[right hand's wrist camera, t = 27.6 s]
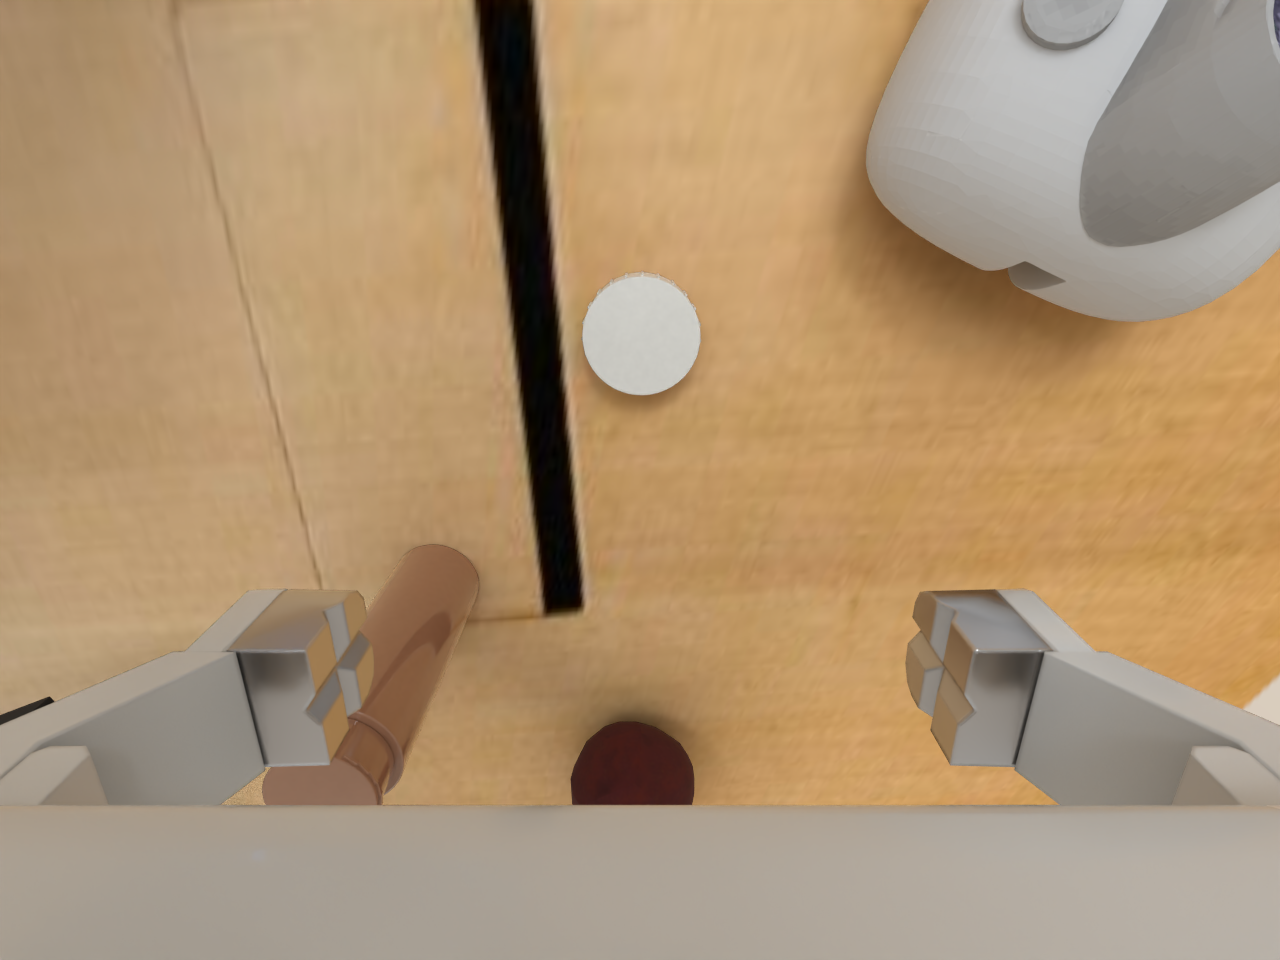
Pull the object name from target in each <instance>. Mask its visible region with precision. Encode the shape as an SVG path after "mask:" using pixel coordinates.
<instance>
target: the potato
mask: <svg viewBox="0 0 1280 960" xmlns="http://www.w3.org/2000/svg"><path fill="white" fill-rule="evenodd" d="M571 791H572V805H692V802H693V797H694V773H693V766H692V764H691V761H690V759H689V757H688V755H687V753H686V752H685V750H684V749H683V747H682V746H681V744H680V743H679V742H678V741H676V740H675V739H673V738H672V737H670V736H669V735H667V734H666V733H664V732H662V731H661V730H659V729H658V728H656V727H653V726H649V725H646V724H642V723H639V722H617V723H614V724H611V725H608V726H605V727H603V728H602V729H601V730H600V731H598V732H597V733H596V734H595V735H594V736H592V737H591V738H590V739H589V740H588V741H587V742H586V744H585V746H584V748H583V750H582V751H581V753H580V755H579V757H578V760H577V762H576V764H575V766H574V769H573V773H572V776H571Z"/></svg>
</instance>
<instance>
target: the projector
mask: <svg viewBox="0 0 1280 960" xmlns="http://www.w3.org/2000/svg"><path fill="white" fill-rule="evenodd" d="M866 168H867V174H868V178H869V181H870V183H871V185H872V187H873V189H874V191H875V193H876V195H877V197H878V198H879V200H880V201H881V202H882V204H883V205H884V206H885V207H886V208H887V209H888V210H889V211H890V212H891V213H892V214H893V215H894V216H895V217H896V218H897V219H899V220H900V221H901V222H902V223H903V224H904V225H906V226H907V227H909V228H910V229H911V230H913V231H914V232H915V233H917V234H918V235H919V236H921V237H923V238H924V239H926V240H928V241H929V242H931V243H932V244H934V245H936V246H937V247H939V248H941V249H943V250H944V251H946V252H948V253H950V254H952V255H954V256H955V257H957V258H959V259H961V260H963V261H965V262H967V263H969V264H971V265H973V266H975V267H977V268H979V269H981V270H986V271H994V270H1001V269H1005V268H1008V274H1009V278H1010V280H1011V282H1012V283H1013V284H1014V285H1015V286H1016V287H1018V288H1020V289H1022V290H1024V291H1026V292H1028V293H1031V294H1033V295H1035V296H1037V297H1039V298H1042V299H1044V300H1046V301H1049V302H1051V303H1053V304H1056V305H1058V306H1061V307H1063V308H1066V309H1069V310H1072V311H1075V312H1078V313H1081V314H1085V315H1088V316H1093V317H1097V318H1102V319H1107V320H1114V321H1131V322H1141V321H1151V320H1158V319H1164V318H1169V317H1173V316H1177V315H1180V314H1183V313H1186V312H1190V311H1192V310H1194V309H1197V308H1199V307H1201V306H1203V305H1206V304H1208V303H1210V302H1212V301H1214V300H1215V299H1217V298H1219V297H1220V296H1222V295H1224V294H1225V293H1227V292H1229V291H1230V290H1232V289H1234V288H1235V287H1236V286H1237V285H1239V284H1240V283H1241V282H1243V281H1244V280H1245V279H1246V278H1248V277H1249V276H1250V275H1252V274H1253V273H1254V272H1255V271H1257V270H1258V269H1259V268H1260V267H1261V266H1262V265H1263V264H1264V263H1265V262H1266V261H1267V260H1268V259H1269V258H1270V257H1271V256H1272V255H1273V254H1274V253H1275V252H1276V251H1277V250H1278V249H1279V248H1280V0H929V2H928V4H927V6H926V7H925V9H924V11H923V13H922V15H921V17H920V19H919V20H918V22H917V24H916V26H915V28H914V30H913V32H912V34H911V36H910V38H909V40H908V42H907V44H906V46H905V48H904V50H903V52H902V54H901V56H900V58H899V61H898V63H897V65H896V67H895V69H894V72H893V74H892V76H891V78H890V80H889V83H888V85H887V87H886V89H885V92H884V94H883V97H882V99H881V102H880V104H879V107H878V110H877V112H876V115H875V118H874V121H873V124H872V128H871V131H870V134H869V139H868V144H867V149H866Z"/></svg>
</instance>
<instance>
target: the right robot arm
mask: <svg viewBox="0 0 1280 960" xmlns="http://www.w3.org/2000/svg"><path fill="white" fill-rule="evenodd" d="M366 619H367V612H366V607H365V603H364V598H363V596H362V595H361V594H360V593H359V592H358V591H353V590H301V589H291V590H288V589H256V590H250V591H247V592H246V593H245V594H244V595H243V596H242V597H241V598H240V599H239V600H238V601H237V602H236V603H235V604H234V605H233V606H231V607H230V608H229V609H228V610H227V611H226V612H225V613H224V614H223V615H222V616H221V617H220V618H219V619H218V620H217V621H216V622H215V623H214V624H213V625H212V626H211V627H210V628H209V629H207V630H206V631H205V632H204V633H203V634H202V635H201V636H200V637H199V638H198V639H197V640H196V641H195V642H194V643H193V644H192V645H191V646H190V647H189V648H188V649H187V650H186V651H184V652H171V653H169V654H166V655H164V656H161V657H159V658H157V659H154V660H152V661H150V662H147V663H145V664H143V665H140V666H138V667H136V668H133V669H131V670H129V671H126V672H124V673H122V674H119V675H117V676H115V677H112V678H110V679H107V680H105V681H103V682H100V683H98V684H96V685H93V686H91V687H89V688H86V689H84V690H82V691H79V692H77V693H75V694H72V695H70V696H68V697H65V698H63V699H61V700H58V701H56V702H53V703H51V704H49V705H46V706H44V707H42V708H39V709H37V710H35V711H32V712H30V713H28V714H25V715H23V716H21V717H18V718H16V719H14V720H11V721H9V722H7V723H4V724H2V725H0V960H1280V725H1278V724H1275V723H1273V722H1271V721H1268V720H1266V719H1264V718H1261V717H1259V716H1257V715H1254V714H1252V713H1250V712H1247V711H1245V710H1243V709H1240V708H1238V707H1236V706H1233V705H1231V704H1229V703H1226V702H1224V701H1222V700H1219V699H1217V698H1214V697H1212V696H1210V695H1207V694H1205V693H1203V692H1200V691H1198V690H1196V689H1193V688H1191V687H1189V686H1186V685H1184V684H1182V683H1179V682H1177V681H1175V680H1172V679H1170V678H1168V677H1165V676H1163V675H1161V674H1158V673H1156V672H1154V671H1151V670H1149V669H1147V668H1144V667H1142V666H1140V665H1137V664H1135V663H1133V662H1130V661H1128V660H1126V659H1123V658H1121V657H1119V656H1116V655H1114V654H1111V653H1109V652H1096V651H1095V650H1093V649H1092V648H1091V647H1090V646H1089V645H1088V644H1087V643H1086V642H1085V641H1084V640H1083V639H1082V638H1081V637H1080V636H1079V635H1078V634H1077V633H1076V632H1075V631H1074V630H1073V629H1072V628H1071V627H1070V626H1068V625H1067V624H1066V623H1065V622H1064V621H1063V620H1062V619H1061V618H1060V617H1059V616H1058V615H1057V614H1056V613H1055V612H1054V611H1053V610H1052V609H1051V608H1050V607H1049V606H1048V605H1047V604H1046V603H1045V602H1043V601H1042V600H1041V599H1040V598H1039V597H1038V596H1037V595H1036V594H1035V593H1034V592H1033V591H1030V590H1027V589H1024V588H1023V589H999V590H995V589H994V590H954V591H925V592H920V593H919V595H918V597H917V599H916V602H915V606H914V612H913V619H914V620H915V622H916V623H917V625H918V626H919V628H920V630H921V631H920V632H919V633H918V634H917V635H916V636H915V637H914V638H913V639H912V640H911V641H910V642H909V643H908V648H907V656H906V674H907V683H908V686H909V689H910V692H911V696H912V697H913V699H914V701H915V703H916V705H917V707H918V708H919V709H921V710H922V711H924V712H925V713H927V714H928V715H930V716H932V717H933V719H932V724H931V732H932V734H933V735H934V737H935V739H936V741H937V742H938V744H939V746H940V748H941V749H942V751H943V753H944V755H945V756H946V758H947V760H948V762H949V764H950V765H958V766H994V767H1015V769H1014V770H1015V771H1017V772H1018V773H1019V774H1020V775H1022V776H1023V777H1024V778H1026V779H1027V780H1028V781H1030V782H1031V783H1032V784H1033V785H1035V786H1036V787H1037V788H1039V789H1040V790H1041V791H1043V792H1044V793H1045V794H1046V795H1048V796H1049V797H1050V798H1052V799H1053V800H1054V801H1056V802H1057V803H1058V804H1060V805H221V804H222V803H223V802H225V801H226V800H227V799H229V798H230V797H231V796H232V795H234V794H235V793H236V792H238V791H239V790H240V789H242V788H243V787H244V786H245V785H247V784H248V783H249V782H251V781H252V780H253V779H255V778H256V777H257V776H259V775H260V774H261V773H262V772H264V771H265V767H285V766H320V765H330V764H331V762H332V760H333V758H334V757H335V755H336V753H337V751H338V750H339V748H340V746H341V744H342V742H343V741H344V739H345V737H346V735H347V734H348V732H349V724H348V719H347V717H348V716H350V715H352V714H353V713H355V712H356V711H358V710H359V709H361V708H362V707H363V705H364V703H365V701H366V699H367V697H368V695H369V693H370V689H371V685H372V680H373V676H374V654H373V647H372V643H371V642H370V641H369V640H368V639H367V638H366V637H365V636H364V635H363V634H362V633H361V632H360V631H359V630H360V628H361V626H362V625H363V623H364V622H365V620H366Z"/></svg>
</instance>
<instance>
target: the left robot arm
mask: <svg viewBox="0 0 1280 960" xmlns="http://www.w3.org/2000/svg"><path fill="white" fill-rule="evenodd" d="M53 702H54V701H53V699H52V698H51V697H47V698H44V699H42V700H39V701H36V702H34V703H31V704H29V705H26V706H23V707H21V708H18V709H15V710H13V711H10V712H8V713H5V714H2V715H0V725H2V724H4V723H7V722H9V721H11V720H14V719H16V718H18V717H21V716H23V715H25V714H28V713H30V712H32V711H35V710H37V709H39V708H42V707H44V706H46V705H49V704H51V703H53Z"/></svg>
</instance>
